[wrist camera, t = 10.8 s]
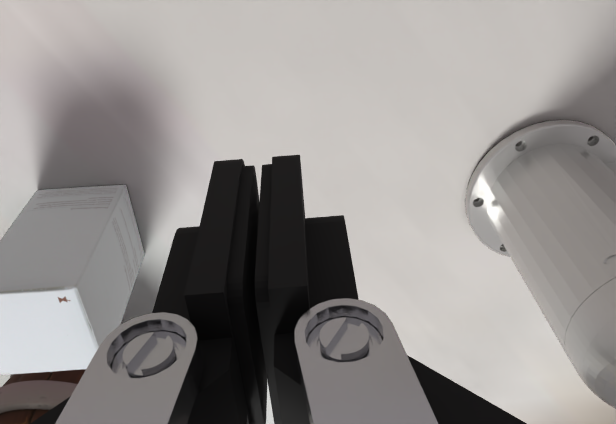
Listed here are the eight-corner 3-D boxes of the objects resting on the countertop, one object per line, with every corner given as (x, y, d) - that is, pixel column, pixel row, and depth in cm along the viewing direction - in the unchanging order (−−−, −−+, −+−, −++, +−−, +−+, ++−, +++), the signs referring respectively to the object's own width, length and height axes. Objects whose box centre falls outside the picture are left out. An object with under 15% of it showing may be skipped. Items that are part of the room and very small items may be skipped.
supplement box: (34, 187, 43) (-47, 293, 33) (128, 182, 44) (78, 286, 33) (60, 261, 47) (-4, 377, 37) (147, 257, 47) (107, 371, 37)
